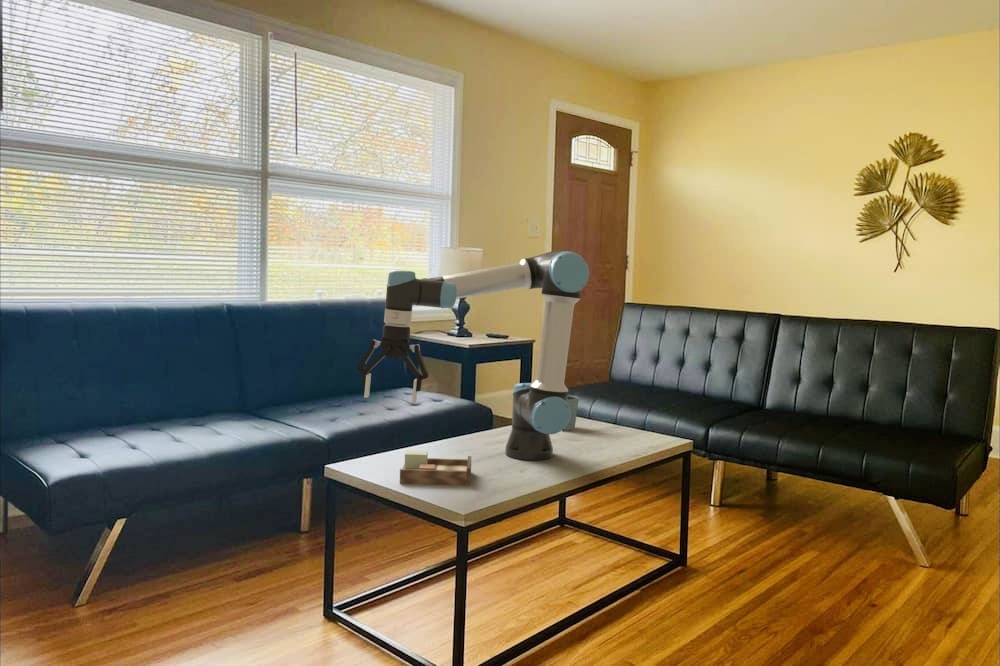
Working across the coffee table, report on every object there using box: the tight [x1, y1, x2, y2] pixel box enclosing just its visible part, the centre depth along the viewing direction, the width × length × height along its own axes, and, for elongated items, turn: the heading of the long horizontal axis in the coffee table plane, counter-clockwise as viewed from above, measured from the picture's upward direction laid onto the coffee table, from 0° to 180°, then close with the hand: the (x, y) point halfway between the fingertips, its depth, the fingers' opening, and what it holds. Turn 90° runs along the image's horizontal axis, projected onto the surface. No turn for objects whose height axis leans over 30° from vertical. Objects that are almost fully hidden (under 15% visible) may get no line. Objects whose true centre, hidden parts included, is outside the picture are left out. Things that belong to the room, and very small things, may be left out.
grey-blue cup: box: [563, 394, 580, 432], centre depth 286 cm, size 10×10×12 cm
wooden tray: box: [399, 455, 472, 487], centre depth 215 cm, size 19×13×5 cm
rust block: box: [419, 464, 435, 470], centre depth 213 cm, size 4×4×4 cm
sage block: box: [404, 449, 429, 469], centre depth 218 cm, size 6×4×4 cm
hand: (390, 399), depth 218 cm, fingers open, 13 cm apart
